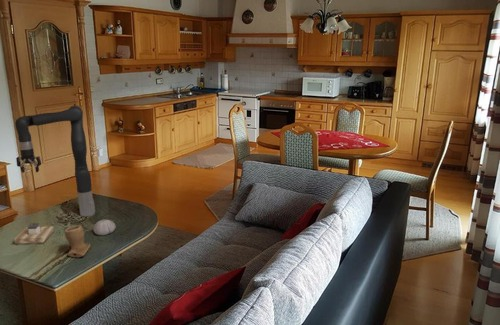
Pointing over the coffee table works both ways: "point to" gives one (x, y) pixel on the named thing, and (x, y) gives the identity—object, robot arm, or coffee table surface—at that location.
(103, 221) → the sea urchin shell
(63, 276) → the coffee table surface
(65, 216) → the coffee table surface
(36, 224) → the connector plug
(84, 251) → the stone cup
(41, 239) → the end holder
